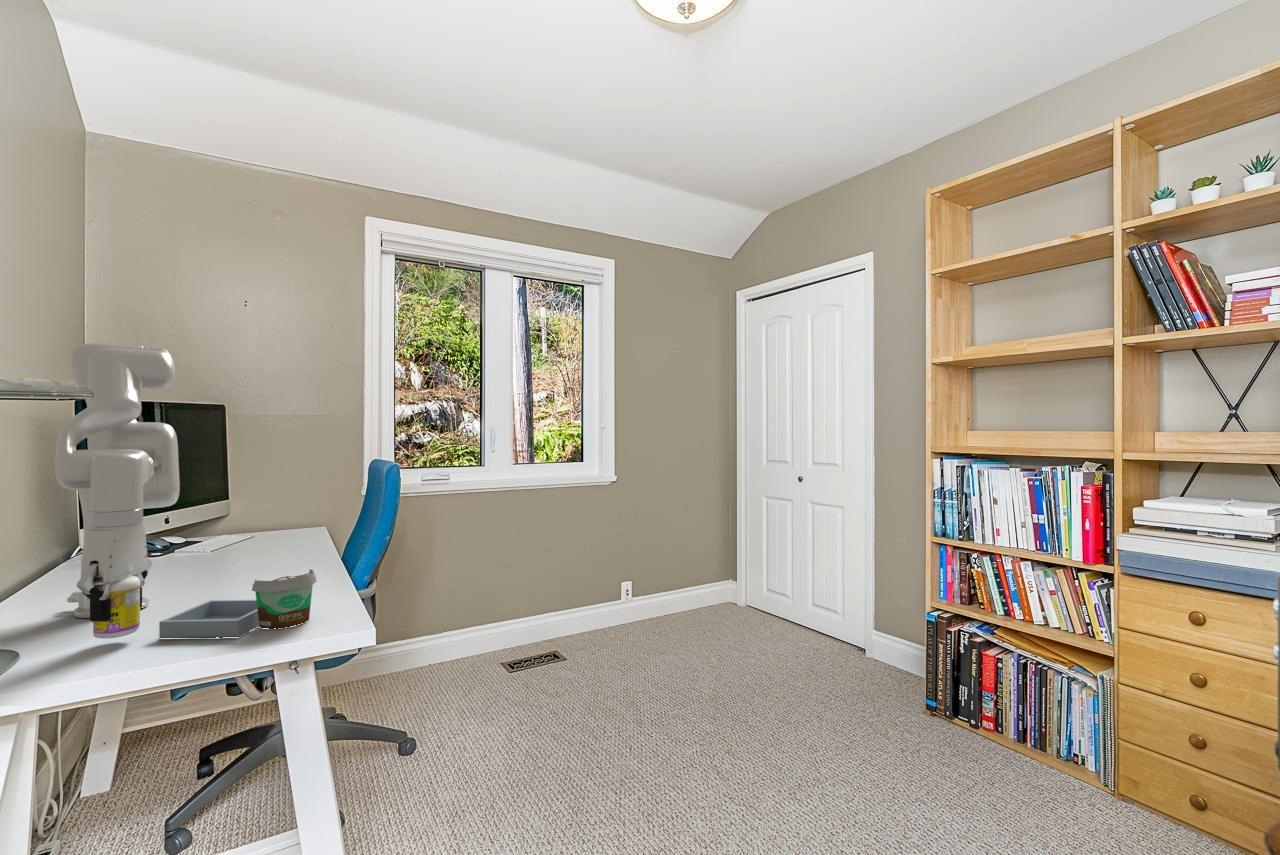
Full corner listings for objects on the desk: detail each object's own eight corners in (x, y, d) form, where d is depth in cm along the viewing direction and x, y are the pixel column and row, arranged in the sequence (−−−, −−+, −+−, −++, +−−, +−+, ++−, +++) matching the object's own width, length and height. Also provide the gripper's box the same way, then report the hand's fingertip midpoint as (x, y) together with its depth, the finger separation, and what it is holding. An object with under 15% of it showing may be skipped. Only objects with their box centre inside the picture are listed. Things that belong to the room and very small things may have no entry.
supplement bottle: (82, 638, 111) (82, 568, 111) (116, 626, 118) (116, 560, 117) (117, 640, 111) (117, 570, 110) (149, 627, 117) (149, 561, 117)
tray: (159, 640, 116) (159, 621, 116) (209, 616, 131) (209, 600, 131) (238, 638, 117) (238, 620, 117) (279, 615, 132) (279, 599, 132)
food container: (267, 636, 119) (267, 584, 119) (251, 630, 122) (251, 580, 122) (328, 619, 129) (328, 572, 129) (312, 614, 132) (312, 568, 132)
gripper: (132, 511, 122) (132, 600, 122) (53, 527, 105) (53, 630, 105) (171, 511, 122) (171, 600, 123) (98, 527, 105) (98, 630, 106)
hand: (116, 613), depth 114 cm, fingers closed on supplement bottle, 6 cm apart
